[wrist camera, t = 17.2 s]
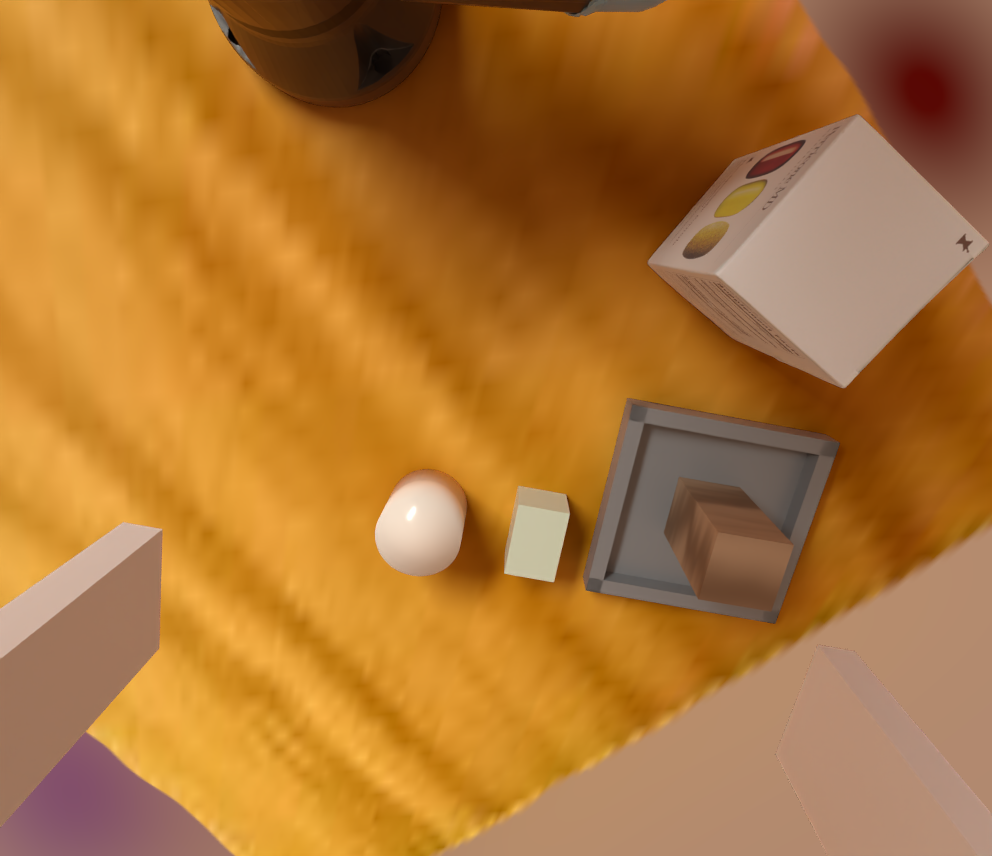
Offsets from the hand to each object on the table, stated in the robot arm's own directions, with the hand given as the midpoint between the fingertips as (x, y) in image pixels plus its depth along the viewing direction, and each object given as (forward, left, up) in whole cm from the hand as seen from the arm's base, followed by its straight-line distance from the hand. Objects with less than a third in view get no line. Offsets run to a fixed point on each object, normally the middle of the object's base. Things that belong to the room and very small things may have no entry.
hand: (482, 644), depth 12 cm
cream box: (+14, +5, -37) cm, 40 cm away
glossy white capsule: (+14, -4, -37) cm, 40 cm away
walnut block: (+10, +18, -36) cm, 42 cm away
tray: (+10, +18, -37) cm, 42 cm away
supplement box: (-10, +15, -37) cm, 41 cm away
